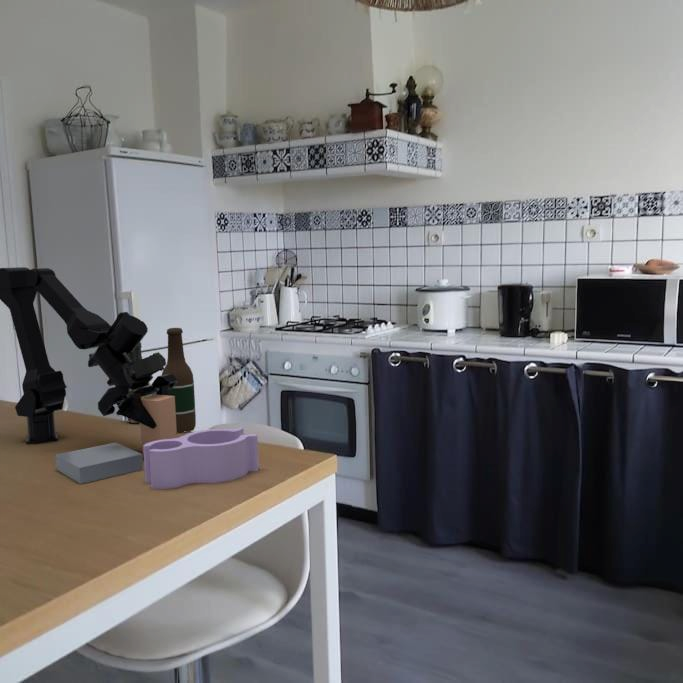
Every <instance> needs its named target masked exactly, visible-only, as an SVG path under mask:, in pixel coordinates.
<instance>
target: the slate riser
mask: <svg viewBox="0 0 683 683" xmlns="http://www.w3.org/2000/svg"><path fill="white" fill-rule="evenodd" d="M55 464H56V466H55V467H56V471H58V472H60V473H62V474H63V475H65V476H67V477H68V478H69V479H71V480H73V481H75V482H77V483H78V484H80V485H82V484H86V483H90V482H94V481H99V480H103V479H108V478H112V477H116V476H121V475H124V474H130V473H133V472H137V471H141V470H142V471H143V469H144V468H143V464H144V463H143V457H142V453H140V452H137V450H133V449H131V448H129V447H127V446H125V445H122V444H120V443H118V442H111V443H106V444H102V445H96V446H92V447H88V448H82V449H77V450H73V451H66V452H63V453H58V454H57V453H56V454H55Z"/></svg>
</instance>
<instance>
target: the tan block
mask: <svg viewBox="0 0 683 683" xmlns="http://www.w3.org/2000/svg"><path fill="white" fill-rule="evenodd" d="M141 401H142V404H143V405H144V407H145V408H146V410H147V411H148V412H149V414H150V415H151V417H152V418H153V420H154V421H155V423H156V425H157V426H156V427H155V428H154V429H152V428H150V427H148V426H146V425H143V424H141V423H139V425H140V438H141V439H140V440H141V452H142V453H141V454H142V458H144V451H143V445H145V444H147V443H149V442H152V441H157V440H163V439H174V438H178V433H177V429H176V411H175V396H167V395H152V396H149V397H145V398H142V399H141Z"/></svg>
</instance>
